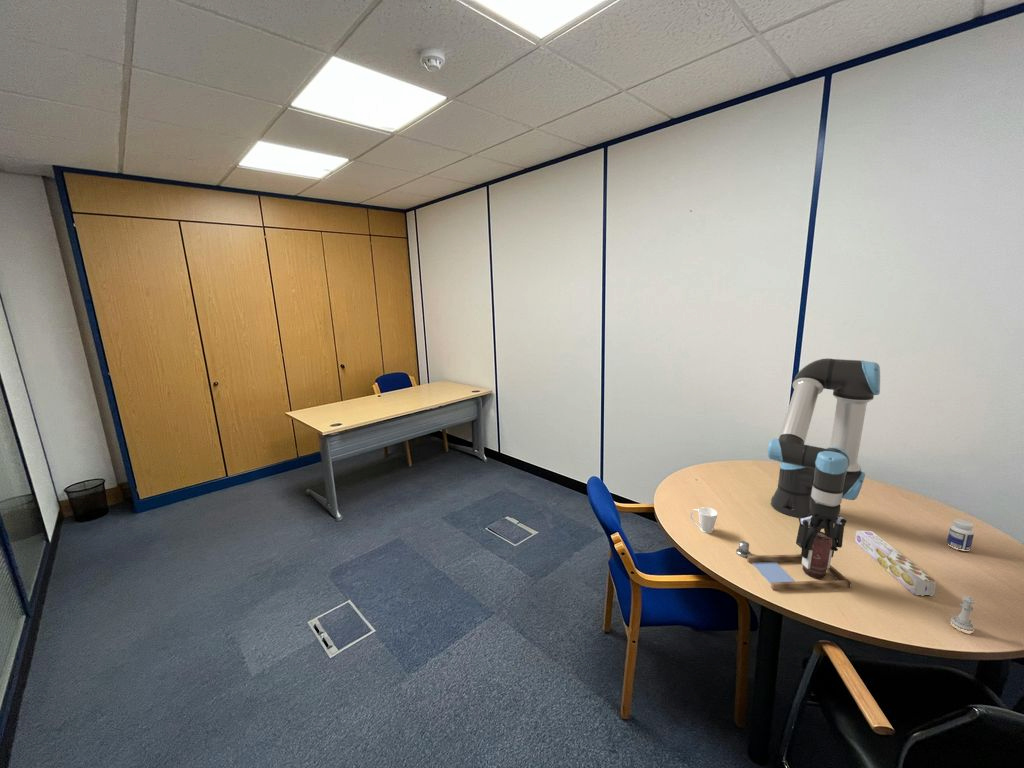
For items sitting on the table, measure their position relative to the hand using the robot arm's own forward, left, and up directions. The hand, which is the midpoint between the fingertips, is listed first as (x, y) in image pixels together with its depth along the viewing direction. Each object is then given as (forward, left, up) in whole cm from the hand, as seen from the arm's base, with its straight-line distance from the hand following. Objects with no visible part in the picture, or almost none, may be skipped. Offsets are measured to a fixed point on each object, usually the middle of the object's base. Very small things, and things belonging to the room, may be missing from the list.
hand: (815, 565), depth 131 cm
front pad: (+13, 0, -3) cm, 13 cm away
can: (0, 0, -3) cm, 3 cm away
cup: (+24, -27, -3) cm, 36 cm away
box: (-27, -2, -3) cm, 27 cm away
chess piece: (-23, +23, -3) cm, 33 cm away
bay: (+6, 0, -3) cm, 7 cm away
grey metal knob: (+17, -11, -3) cm, 20 cm away
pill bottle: (-59, -11, -3) cm, 60 cm away
